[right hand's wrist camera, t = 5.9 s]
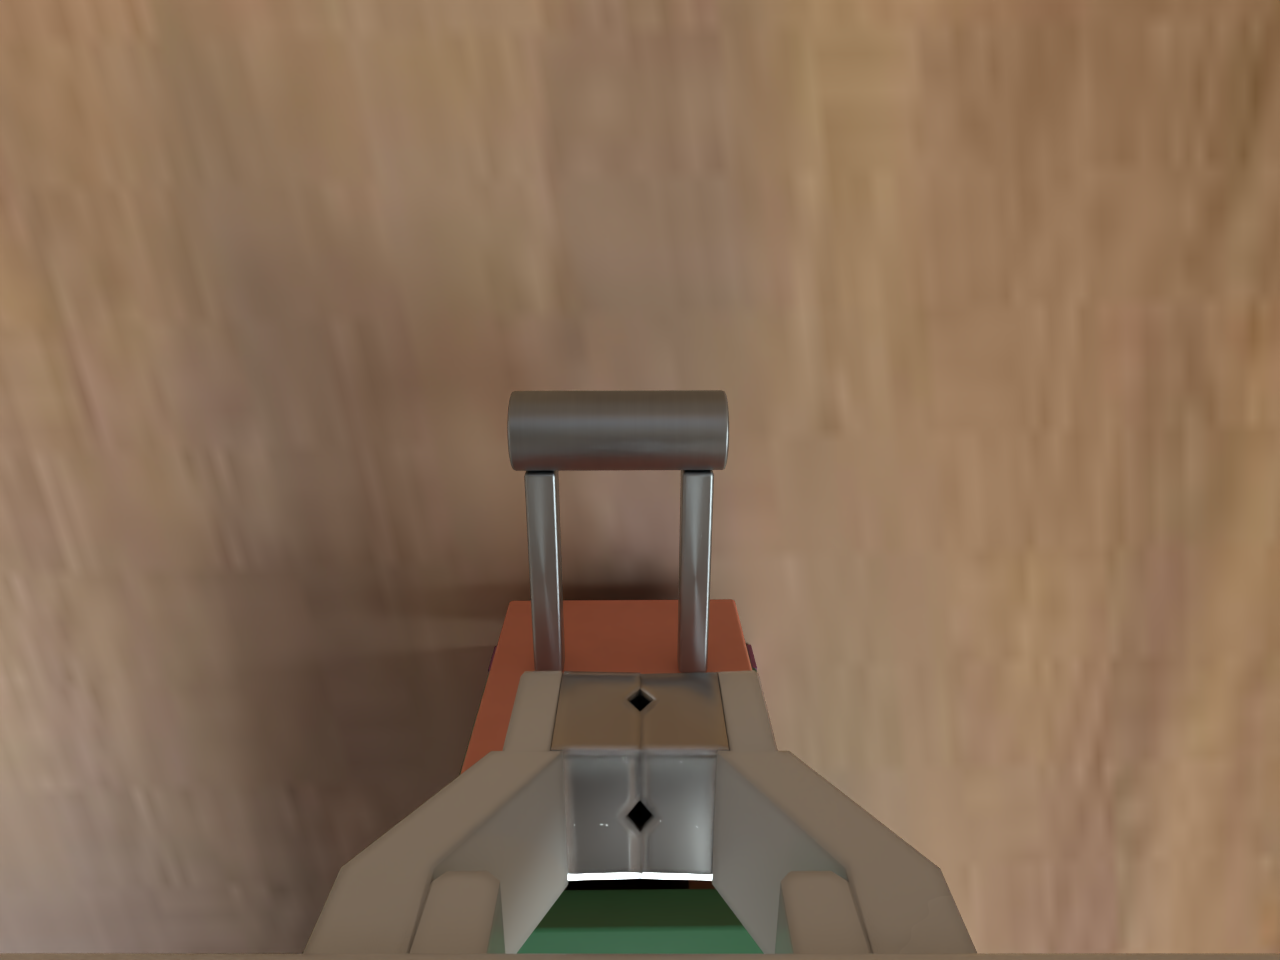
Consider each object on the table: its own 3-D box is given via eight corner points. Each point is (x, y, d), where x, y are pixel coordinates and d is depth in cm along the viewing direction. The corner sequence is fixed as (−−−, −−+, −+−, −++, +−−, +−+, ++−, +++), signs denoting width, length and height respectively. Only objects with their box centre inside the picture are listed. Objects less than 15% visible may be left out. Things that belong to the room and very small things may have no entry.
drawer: (494, 359, 18) (417, 458, 11) (745, 358, 18) (811, 457, 11) (540, 1098, 26) (511, 1396, 20) (712, 1096, 26) (738, 1392, 20)
